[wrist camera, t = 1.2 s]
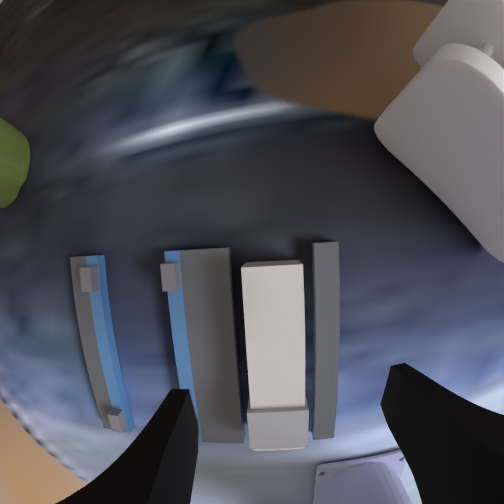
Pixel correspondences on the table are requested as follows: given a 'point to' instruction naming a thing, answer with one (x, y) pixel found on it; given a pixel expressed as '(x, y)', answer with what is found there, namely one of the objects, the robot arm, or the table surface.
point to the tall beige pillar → (275, 354)
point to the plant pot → (12, 162)
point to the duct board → (205, 339)
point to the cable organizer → (457, 116)
